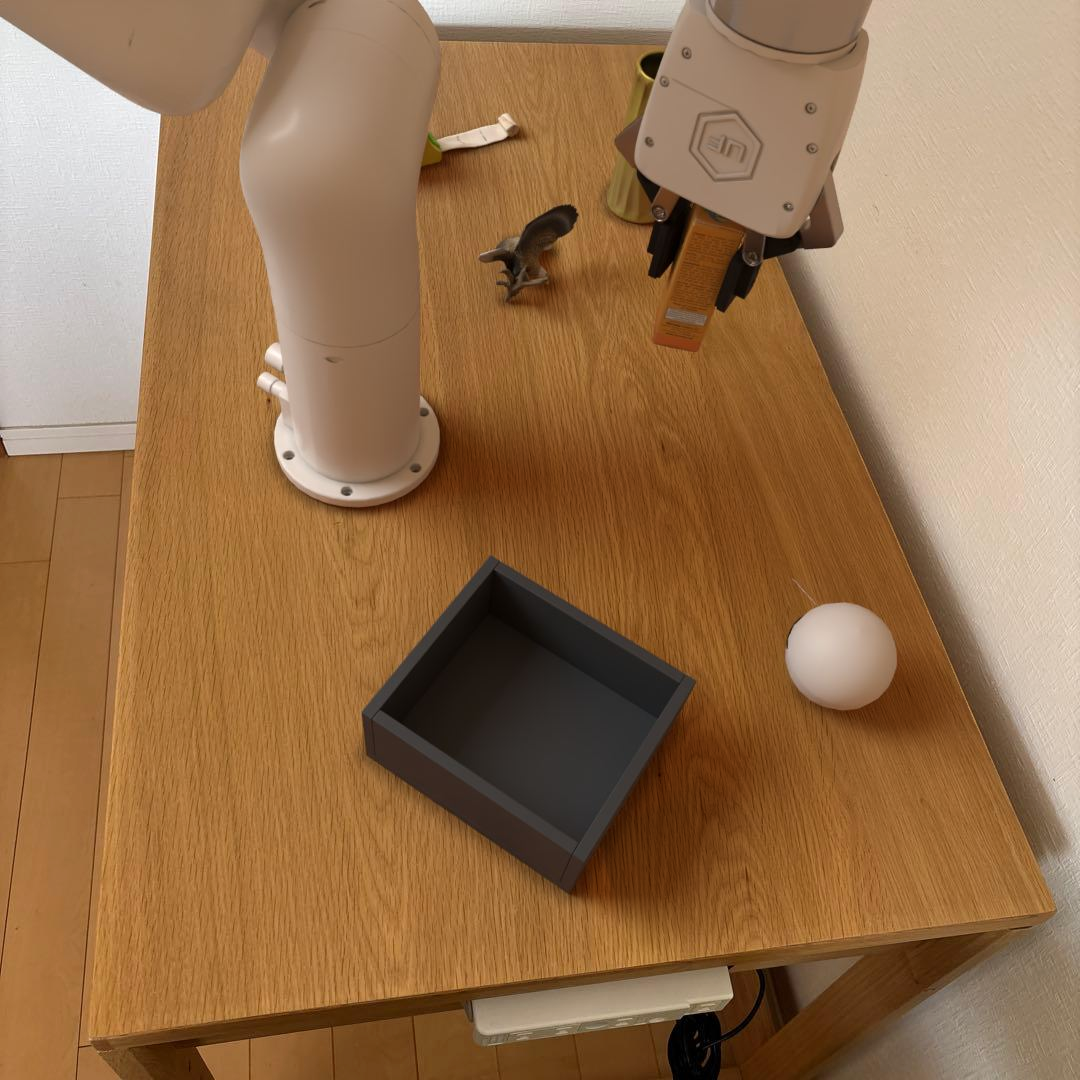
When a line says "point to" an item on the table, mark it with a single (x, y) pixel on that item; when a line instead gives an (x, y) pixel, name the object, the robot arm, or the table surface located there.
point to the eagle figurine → (531, 249)
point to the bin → (525, 719)
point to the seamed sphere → (840, 655)
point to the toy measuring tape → (469, 139)
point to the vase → (625, 186)
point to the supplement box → (695, 279)
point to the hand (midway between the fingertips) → (696, 279)
